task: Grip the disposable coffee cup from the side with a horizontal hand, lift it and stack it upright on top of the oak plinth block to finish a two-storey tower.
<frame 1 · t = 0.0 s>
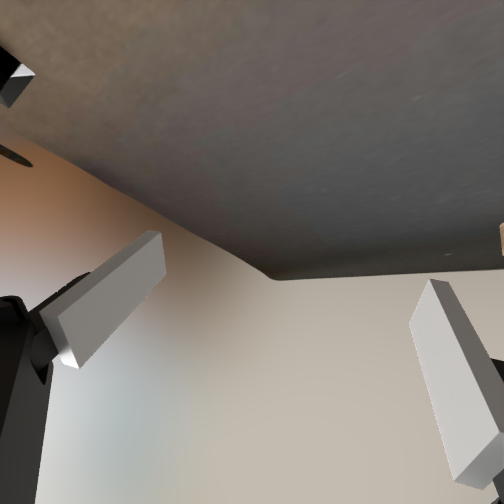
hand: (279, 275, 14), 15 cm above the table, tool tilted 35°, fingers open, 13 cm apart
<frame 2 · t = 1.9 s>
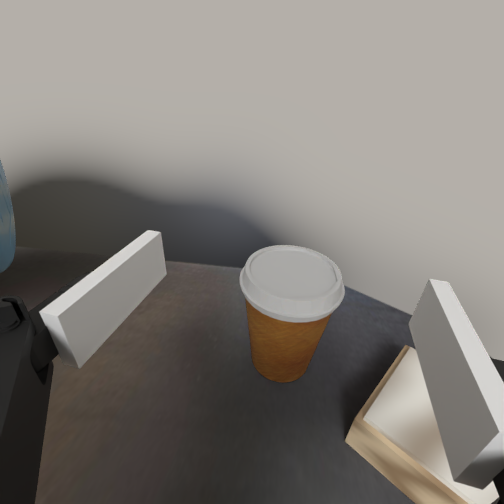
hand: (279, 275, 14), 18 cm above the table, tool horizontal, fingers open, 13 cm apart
disposable coffee cup: (279, 358, 32), on the table
plinth: (433, 443, 25), on the table
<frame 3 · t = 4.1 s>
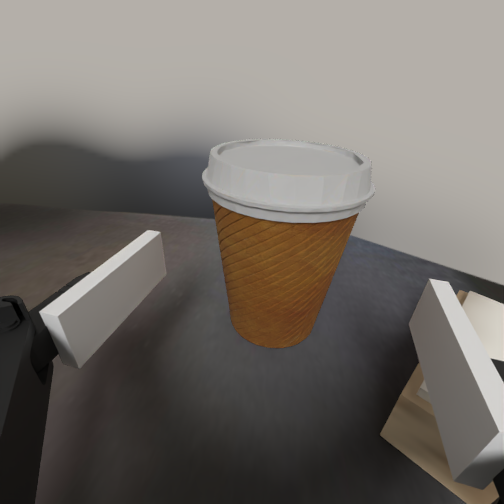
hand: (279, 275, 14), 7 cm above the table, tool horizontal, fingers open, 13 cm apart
disposable coffee cup: (271, 317, 22), on the table
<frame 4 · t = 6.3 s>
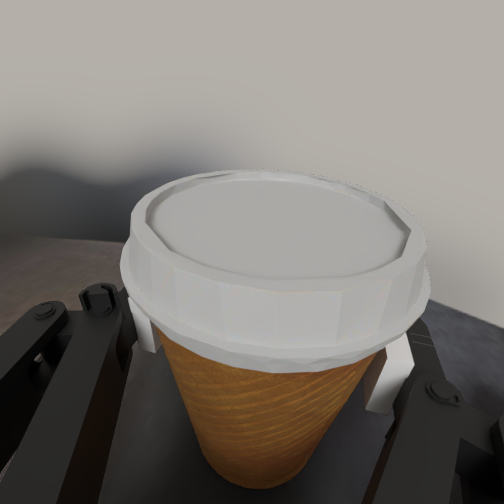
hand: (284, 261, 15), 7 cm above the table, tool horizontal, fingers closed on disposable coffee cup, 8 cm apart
disposable coffee cup: (256, 419, 15), on the table, touching gripper
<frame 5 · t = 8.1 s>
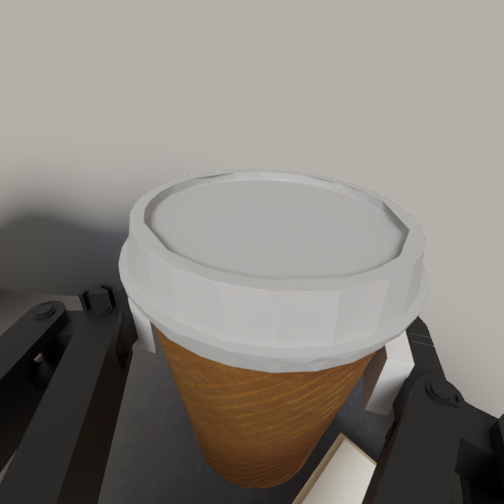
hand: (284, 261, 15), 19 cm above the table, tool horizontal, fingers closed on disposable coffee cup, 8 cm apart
disposable coffee cup: (255, 418, 15), point 12 cm above the table, touching gripper
when the fingers open (12 cm above the table, at t = 10.4 s): disposable coffee cup drops 1 cm, resting on plinth.
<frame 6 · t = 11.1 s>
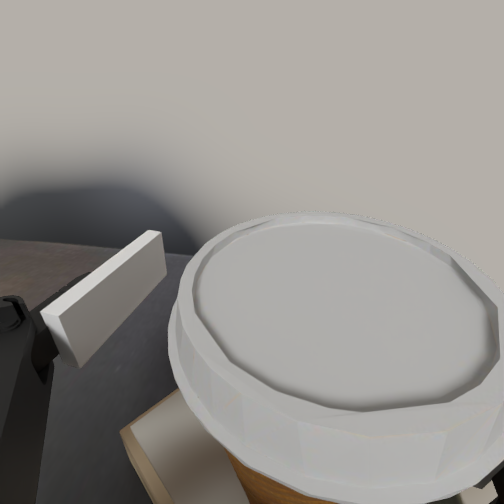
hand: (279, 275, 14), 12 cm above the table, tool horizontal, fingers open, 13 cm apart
disposable coffee cup: (302, 463, 15), point 4 cm above the table, touching gripper, plinth
plinth: (253, 463, 18), on the table
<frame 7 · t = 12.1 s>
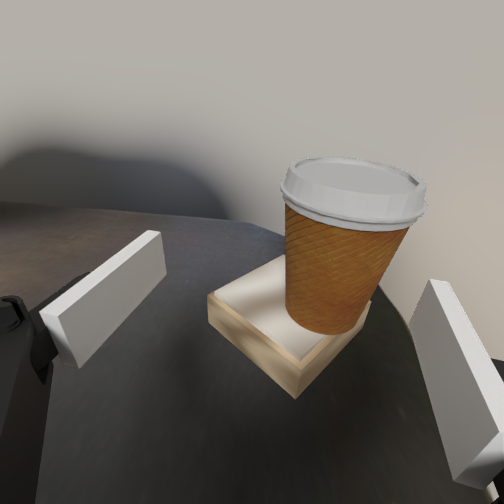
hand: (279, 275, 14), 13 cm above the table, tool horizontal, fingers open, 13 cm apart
disposable coffee cup: (320, 309, 25), point 4 cm above the table, touching plinth
plinth: (285, 325, 29), on the table
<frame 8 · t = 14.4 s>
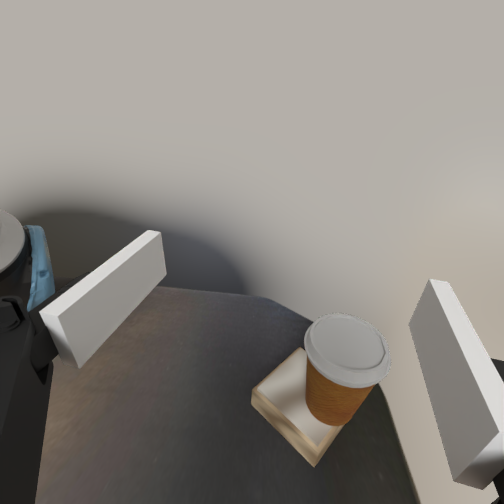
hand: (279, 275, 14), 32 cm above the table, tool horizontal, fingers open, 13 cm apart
disposable coffee cup: (328, 402, 38), point 4 cm above the table, touching plinth
plinth: (304, 405, 42), on the table
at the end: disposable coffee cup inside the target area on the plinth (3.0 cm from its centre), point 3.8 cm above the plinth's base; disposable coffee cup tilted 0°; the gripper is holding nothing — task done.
